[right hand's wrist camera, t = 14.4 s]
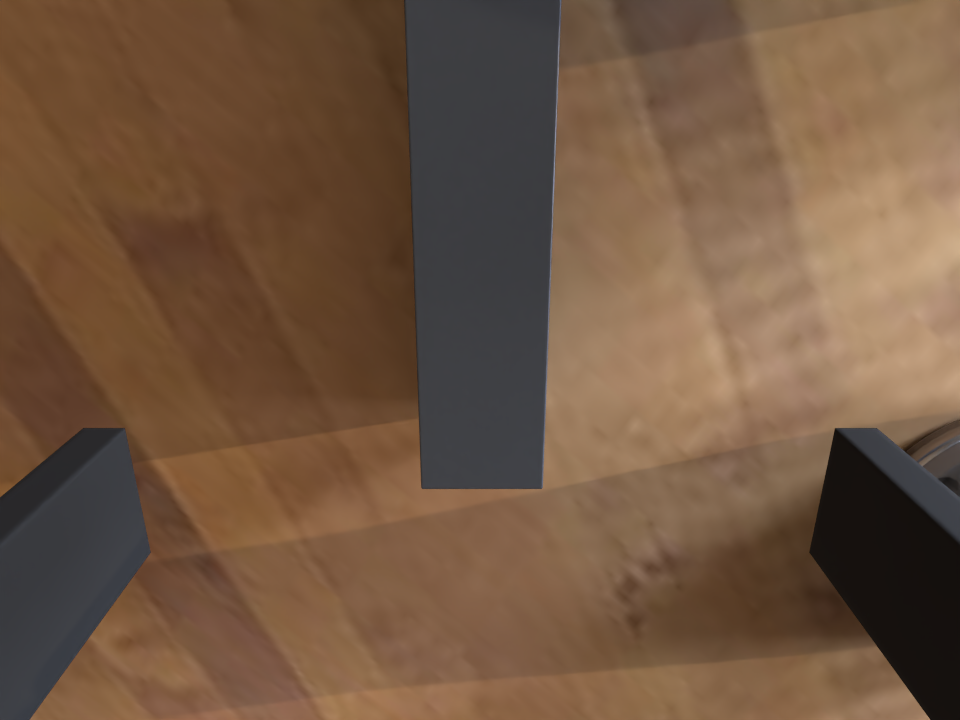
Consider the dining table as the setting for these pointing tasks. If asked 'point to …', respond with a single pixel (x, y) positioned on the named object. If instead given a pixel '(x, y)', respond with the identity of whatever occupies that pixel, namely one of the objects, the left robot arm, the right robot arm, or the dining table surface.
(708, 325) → the dining table surface
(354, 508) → the dining table surface
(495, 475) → the board
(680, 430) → the dining table surface
